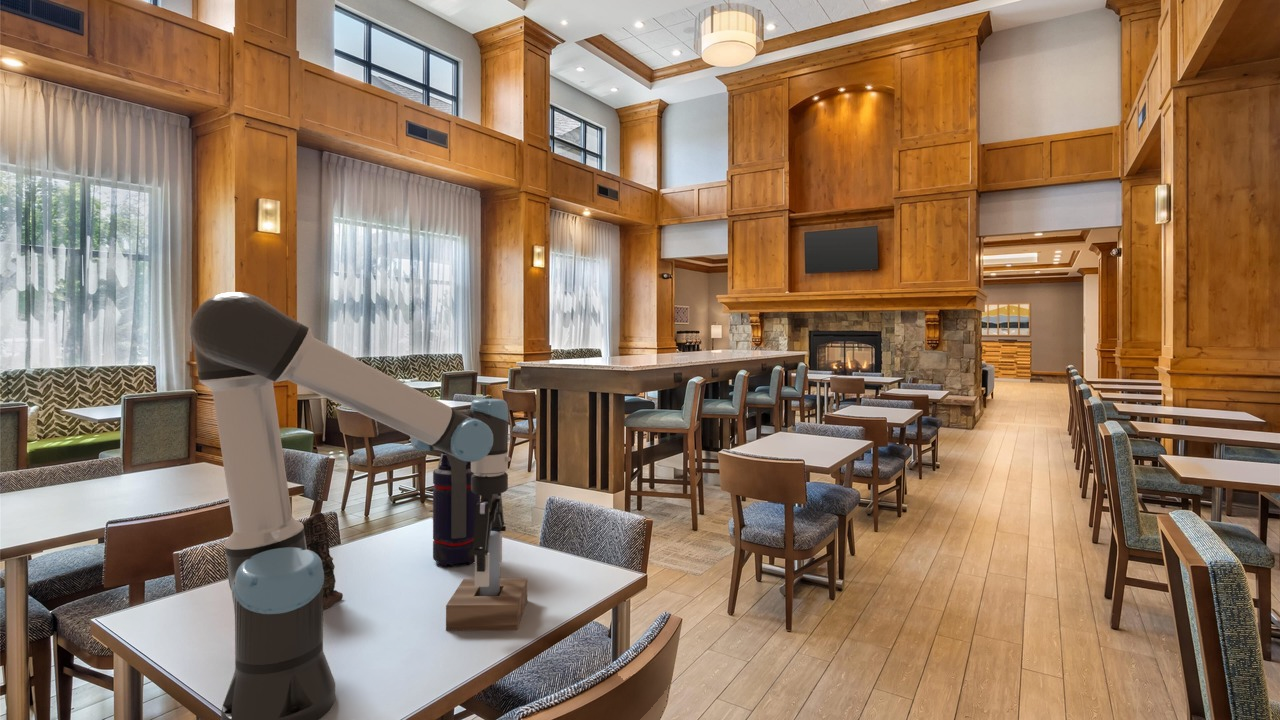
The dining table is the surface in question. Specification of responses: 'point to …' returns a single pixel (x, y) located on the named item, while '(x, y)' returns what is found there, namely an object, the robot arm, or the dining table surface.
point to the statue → (322, 555)
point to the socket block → (487, 606)
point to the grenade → (453, 511)
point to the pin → (493, 566)
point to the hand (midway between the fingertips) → (489, 573)
